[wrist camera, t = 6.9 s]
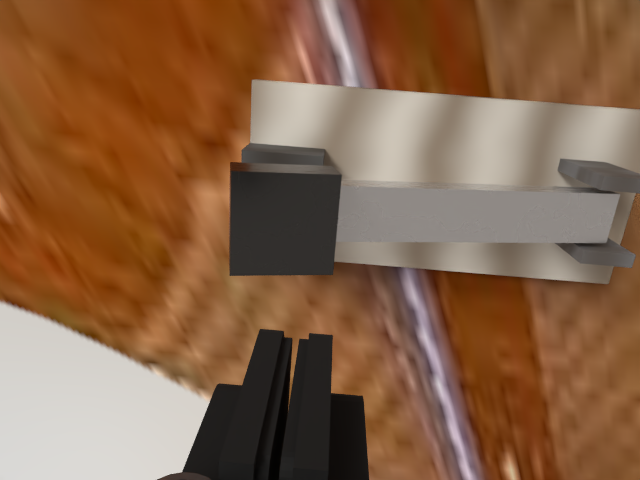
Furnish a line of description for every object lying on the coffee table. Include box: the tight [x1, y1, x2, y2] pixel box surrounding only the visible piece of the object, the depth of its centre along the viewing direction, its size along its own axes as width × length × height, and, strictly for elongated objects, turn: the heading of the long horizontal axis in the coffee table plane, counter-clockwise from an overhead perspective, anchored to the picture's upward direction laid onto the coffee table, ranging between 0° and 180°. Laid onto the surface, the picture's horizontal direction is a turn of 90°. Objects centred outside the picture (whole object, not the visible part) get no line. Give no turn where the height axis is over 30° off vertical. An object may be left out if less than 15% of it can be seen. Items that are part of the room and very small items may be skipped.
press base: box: [242, 80, 640, 284], centre depth 31 cm, size 26×12×8 cm, turn 86°
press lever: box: [229, 162, 620, 276], centre depth 26 cm, size 22×5×4 cm, turn 87°
